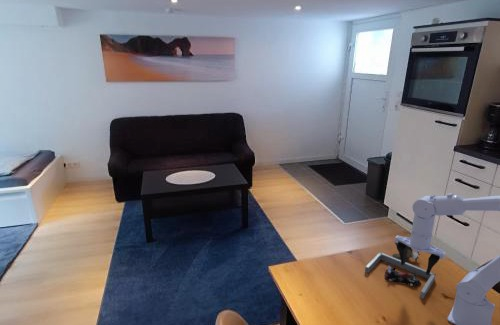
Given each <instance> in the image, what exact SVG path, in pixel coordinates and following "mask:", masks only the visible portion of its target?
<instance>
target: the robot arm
mask: <svg viewBox="0 0 500 325" xmlns="http://www.w3.org/2000/svg"><path fill="white" fill-rule="evenodd" d="M412 211H413V213H414V216H413V218H412V219H413V220H412V227H411V232H410V233H411V234H410V237H408V236H407V237H406V236H401V235H396V236H395V238H394V243H395V242H396V243H398V245H397V246H396V249H397V252H398V254H400V258H401V259H400V260H401V264H402V265H404V264H405V262H406V261H407V260H406V255H407V250H408V246H409V247H411V248H412V250H413V252H419V253H421V252H422V253H427V254H429V257H428V261H427V268H426V275H429V274H430V272H431V271H432V268H434V266H435V265H436V264H437V263H438V262H439V260H442V261H443V260H444V259H445V258H446V255H447V254H446V253H447V251H444V250H442V249H440V248H438V247H437V246H434V245H432V244H431V241H432V235H433V230H434V225H435V220H436V219H435V218H436V216H462V215H463V214H465V213H466V212H467V211H477V212H480V211H481V212H482V211H483V212H486V211H487V212H488V211H492V212H495V211H497V212H498V211H499V212H500V194H499V195H490V196H479V197H471V198H470V197H469V198H464V197H463V196H461V195H459V194H454V193H453V192H450V193H447V194H446V195H438V196H436V195H435V194H433V195H425V196H422V197H420V198H418V199H416V200H415V201H414V202H413V204H412ZM406 263H407V262H406ZM499 282H500V254H499V255H497V256H495V257H494V258H493V259H492V260H490V261H489V262H487V263H486V264H485V265H484V266H481V267H480V268H477V269H471V270H469V271H468V272H466V275H465V276H464V277H462V279H461V281H460V282H458V283H457V284H456V285H455V291H456V294H455V298H454V302H453V306H452V307H451V308H452V309H451V310H450V312H449V315H448V316H447V318H446V320H447V321H448V322H450V323H451V324H454V325H492V324H493V322H492V318H493V315H494V312H495V308H496V304H494V303H492V302H491V301H489V300H488V298H487V293H488V292H489V291H490V290H491V289H493V287H494V286H495V285H496V284H498V283H499Z"/></svg>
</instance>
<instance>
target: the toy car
mask: <svg viewBox="0 0 500 325" xmlns="http://www.w3.org/2000/svg"><path fill="white" fill-rule="evenodd" d="M396 269H397V268H396V267H391V264H387V269H386V270H385V272H384V280H387V281H388V282H394V283H398V284H402V285H403V284H404V285H408V286H409V287H412V288H413V287H419V286H420V285H422V282H421V280H420V279H419V278H418V277H417V274H415V273H412V272H410V273H406V272H400V271H397V270H396Z"/></svg>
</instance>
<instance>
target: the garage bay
mask: <svg viewBox="0 0 500 325" xmlns="http://www.w3.org/2000/svg"><path fill="white" fill-rule="evenodd" d="M380 261H383V262H386V263H387V264H390V265H393V266H396V267H399V268H400V269H403V270H405V271H408V272H409V273H412V274H416V276H420V277H422V278H425V279H427V281H426V283H425V284H424V286H423V288H422V289H421V291H420V295H419V298H420V299H424V298H425V297H426V295H427V293H428V292H429V290H430V288H431V287H432V285H433V283H434V281H435V280H436V273H434V272H431V271H430V274H429V275H426V271H427V269H423V268H421V267H419V266H417V265H416V266H415V265H414V264H411V263H409V262H405V264H404V265H402V264H401V259H396V258H394V257H393V256H392V255H388V254H386V253H383V252H381V251H379V252H378V253H376V256H374V257H373V258H372V260H370V261H369V262H368V264H366V266H365V268H364V269H365V270H364V273H365V274H369V272H371V270H372V269H373V268H374V267H375V266H376V265H377V264H378V263H379V262H380Z"/></svg>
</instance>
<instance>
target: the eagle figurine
mask: <svg viewBox="0 0 500 325" xmlns="http://www.w3.org/2000/svg"><path fill="white" fill-rule="evenodd" d="M394 243H395V246H396V247H397V245H398V243H396V242H395V241H394ZM420 255H421V254H420V251H419V252H416V251H414V250H412V248H411V247H409V246H408V250H407V255H406V261H408V260H410V258H412V259H413V260H414V261H415V262H416V263H417V261H418V259H420V258H419V256H420ZM391 257H394V258H396V259H399V260H401V258H400V254H399V253H394V254H392V255H391Z"/></svg>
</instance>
